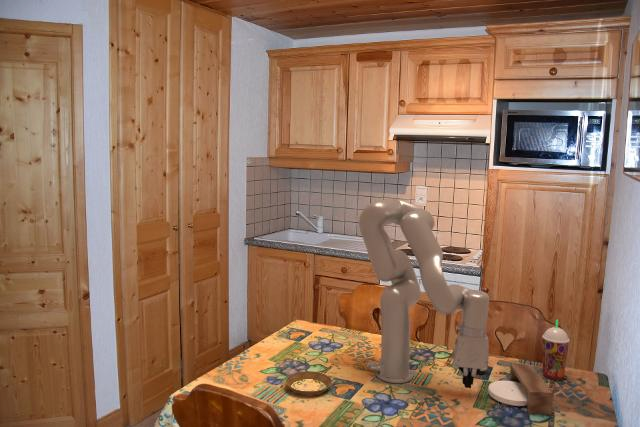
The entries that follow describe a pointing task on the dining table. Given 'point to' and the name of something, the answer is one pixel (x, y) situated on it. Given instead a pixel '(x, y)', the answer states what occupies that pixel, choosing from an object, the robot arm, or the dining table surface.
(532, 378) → the walnut bridge
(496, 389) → the plastic lid
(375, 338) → the dining table surface
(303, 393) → the plant saucer
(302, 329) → the dining table surface
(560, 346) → the smoothie
